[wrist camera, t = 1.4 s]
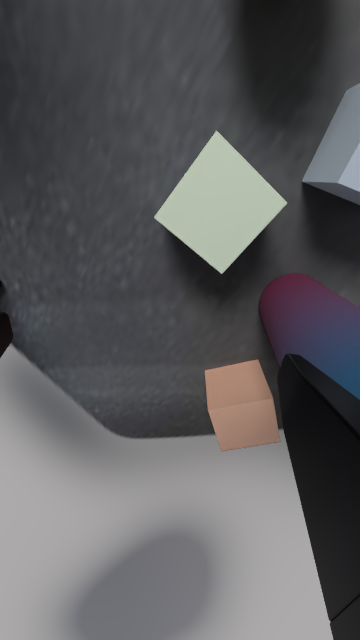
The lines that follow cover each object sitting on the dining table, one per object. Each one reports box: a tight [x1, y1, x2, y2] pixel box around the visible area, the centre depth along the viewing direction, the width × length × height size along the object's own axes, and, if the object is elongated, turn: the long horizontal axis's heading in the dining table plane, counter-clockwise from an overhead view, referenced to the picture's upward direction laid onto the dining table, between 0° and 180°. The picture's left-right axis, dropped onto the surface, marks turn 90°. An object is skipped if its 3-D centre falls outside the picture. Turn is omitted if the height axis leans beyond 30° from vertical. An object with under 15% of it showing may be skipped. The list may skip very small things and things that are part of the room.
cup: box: [259, 274, 360, 400], centre depth 16 cm, size 7×7×15 cm
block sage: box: [154, 131, 287, 274], centre depth 17 cm, size 5×5×5 cm
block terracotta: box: [205, 359, 280, 451], centre depth 24 cm, size 5×5×5 cm
